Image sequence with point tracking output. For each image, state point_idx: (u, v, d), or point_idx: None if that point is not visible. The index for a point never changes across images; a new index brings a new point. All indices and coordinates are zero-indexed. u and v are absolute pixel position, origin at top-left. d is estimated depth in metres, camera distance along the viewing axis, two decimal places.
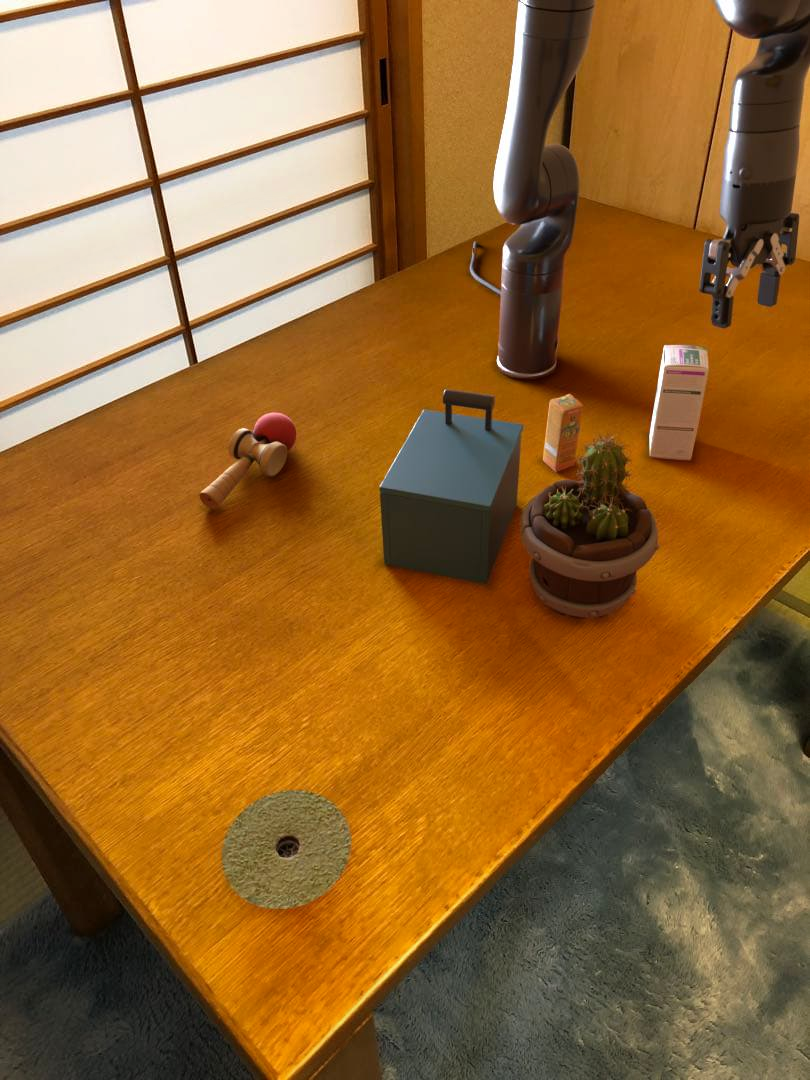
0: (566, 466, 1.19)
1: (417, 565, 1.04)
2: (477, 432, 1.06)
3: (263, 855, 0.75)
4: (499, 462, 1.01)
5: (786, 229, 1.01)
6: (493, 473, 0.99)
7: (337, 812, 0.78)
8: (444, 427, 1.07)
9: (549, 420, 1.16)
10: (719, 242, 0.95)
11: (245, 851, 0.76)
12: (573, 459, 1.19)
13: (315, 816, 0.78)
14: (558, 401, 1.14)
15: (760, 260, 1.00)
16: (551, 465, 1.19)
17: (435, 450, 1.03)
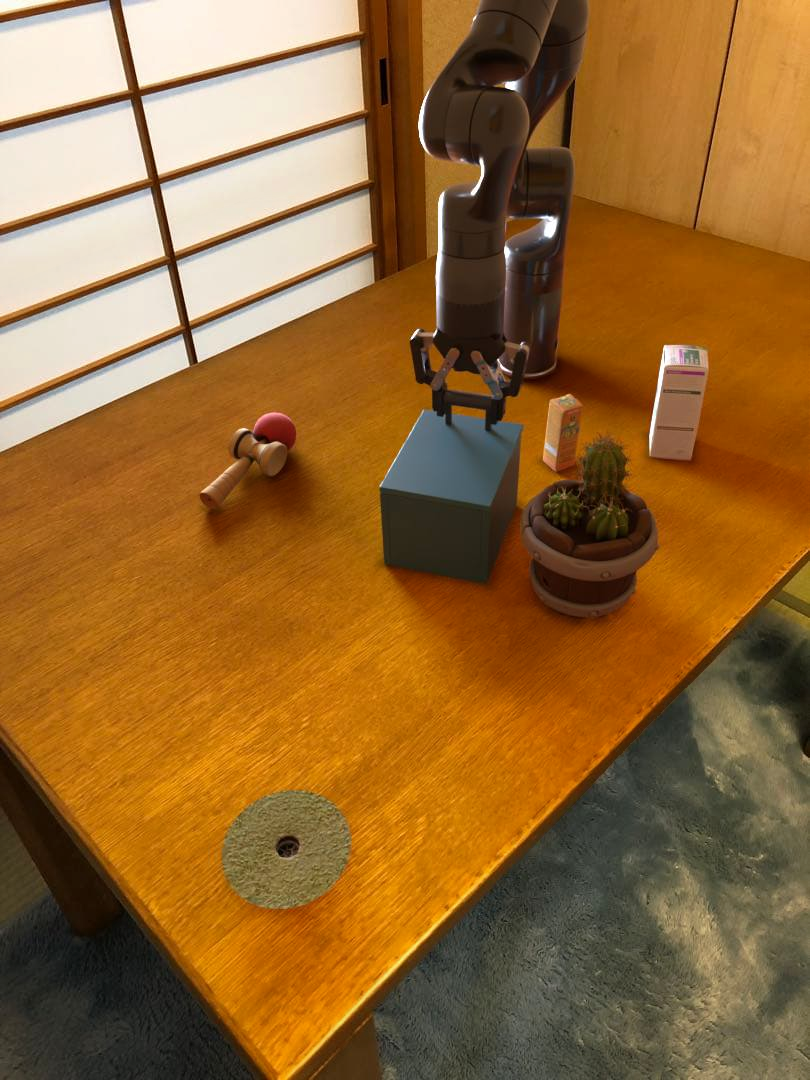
0: (566, 466, 1.19)
1: (417, 565, 1.04)
2: (477, 432, 1.06)
3: (263, 855, 0.75)
4: (499, 462, 1.01)
5: (511, 359, 0.99)
6: (493, 473, 0.99)
7: (337, 812, 0.78)
8: (444, 427, 1.07)
9: (549, 420, 1.16)
10: (413, 335, 1.01)
11: (245, 851, 0.76)
12: (573, 459, 1.19)
13: (315, 816, 0.78)
14: (558, 401, 1.14)
15: (470, 369, 1.01)
16: (551, 465, 1.19)
17: (435, 450, 1.03)
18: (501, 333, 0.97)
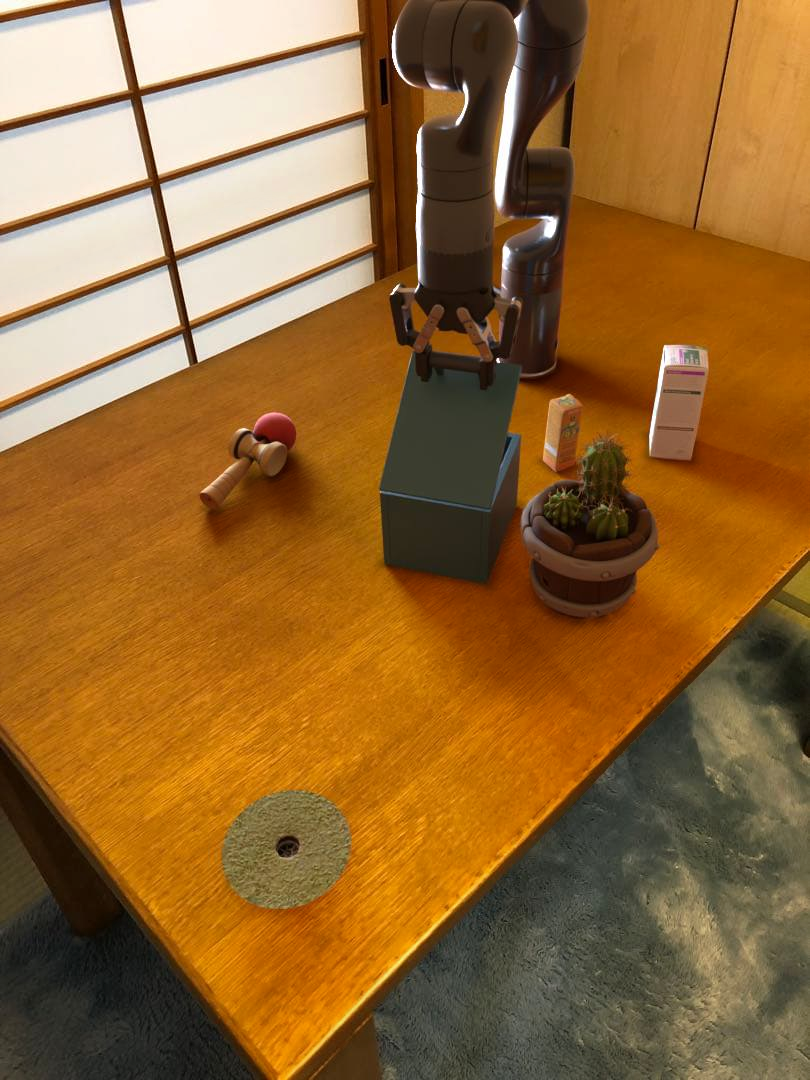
0: (566, 466, 1.19)
1: (417, 565, 1.04)
2: (472, 386, 0.98)
3: (263, 855, 0.75)
4: (497, 435, 0.97)
5: (501, 316, 0.89)
6: (491, 455, 0.96)
7: (337, 812, 0.78)
8: (436, 381, 0.99)
9: (549, 420, 1.16)
10: (393, 291, 0.91)
11: (245, 851, 0.76)
12: (573, 459, 1.19)
13: (315, 816, 0.78)
14: (558, 401, 1.14)
15: (457, 329, 0.91)
16: (551, 465, 1.19)
17: (430, 423, 0.99)
18: (490, 287, 0.88)
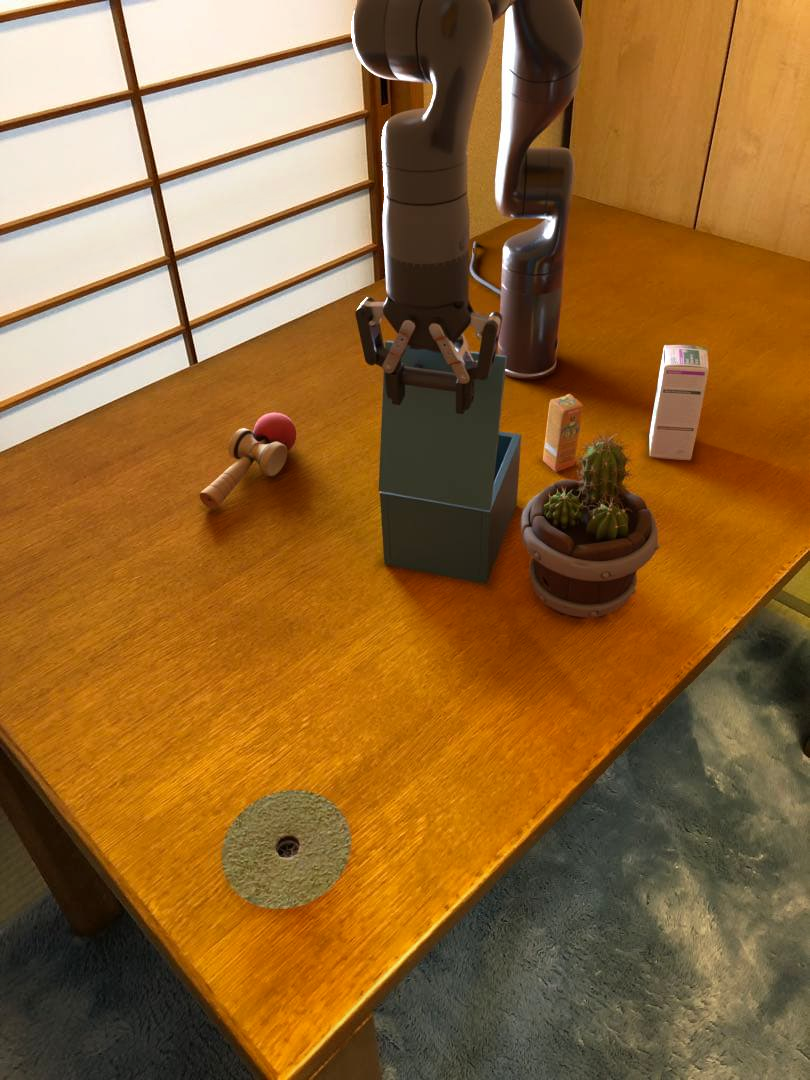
0: (566, 466, 1.19)
1: (417, 565, 1.04)
2: None
3: (263, 855, 0.75)
4: (487, 437, 0.92)
5: (478, 333, 0.80)
6: (485, 458, 0.93)
7: (337, 812, 0.78)
8: None
9: (549, 420, 1.16)
10: (360, 305, 0.83)
11: (245, 851, 0.76)
12: (573, 459, 1.19)
13: (315, 816, 0.78)
14: (558, 401, 1.14)
15: (430, 347, 0.82)
16: (551, 465, 1.19)
17: (417, 424, 0.93)
18: (465, 301, 0.79)
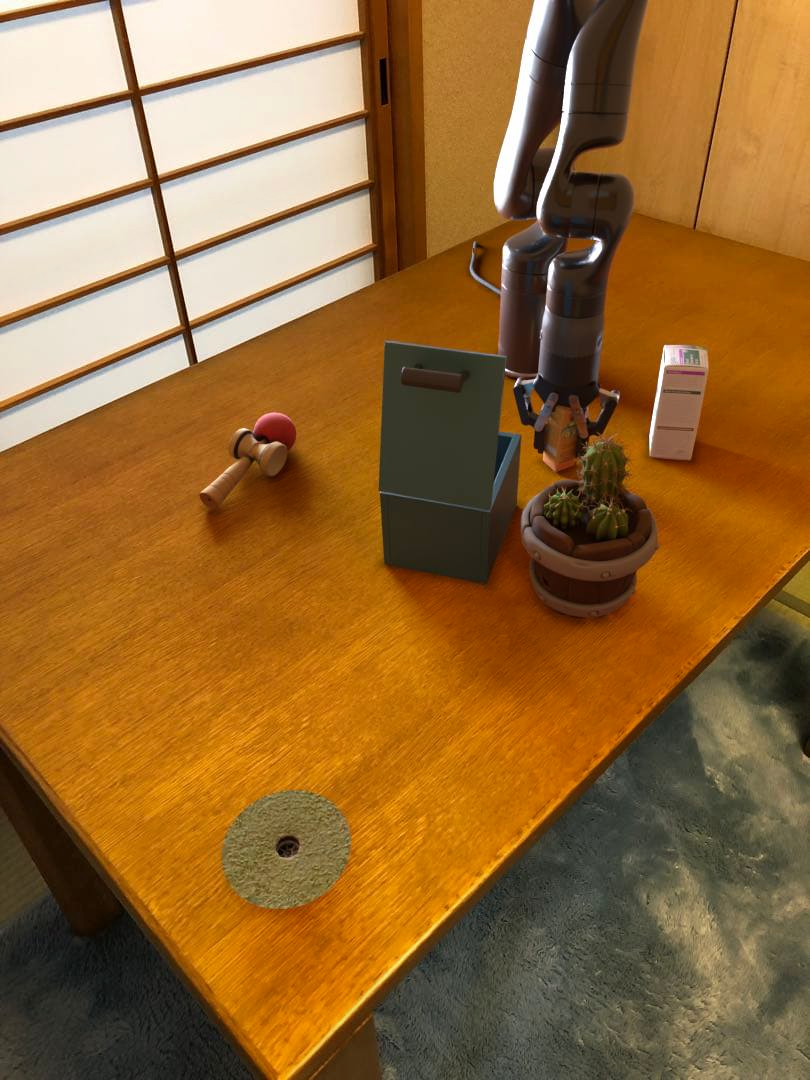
0: (566, 466, 1.19)
1: (417, 565, 1.04)
2: None
3: (263, 855, 0.75)
4: (487, 437, 0.92)
5: (602, 404, 1.12)
6: (484, 458, 0.93)
7: (337, 812, 0.78)
8: None
9: (549, 420, 1.16)
10: (515, 384, 1.14)
11: (245, 851, 0.76)
12: (573, 459, 1.19)
13: (315, 816, 0.78)
14: None
15: None
16: (551, 465, 1.19)
17: (417, 424, 0.93)
18: (596, 380, 1.10)
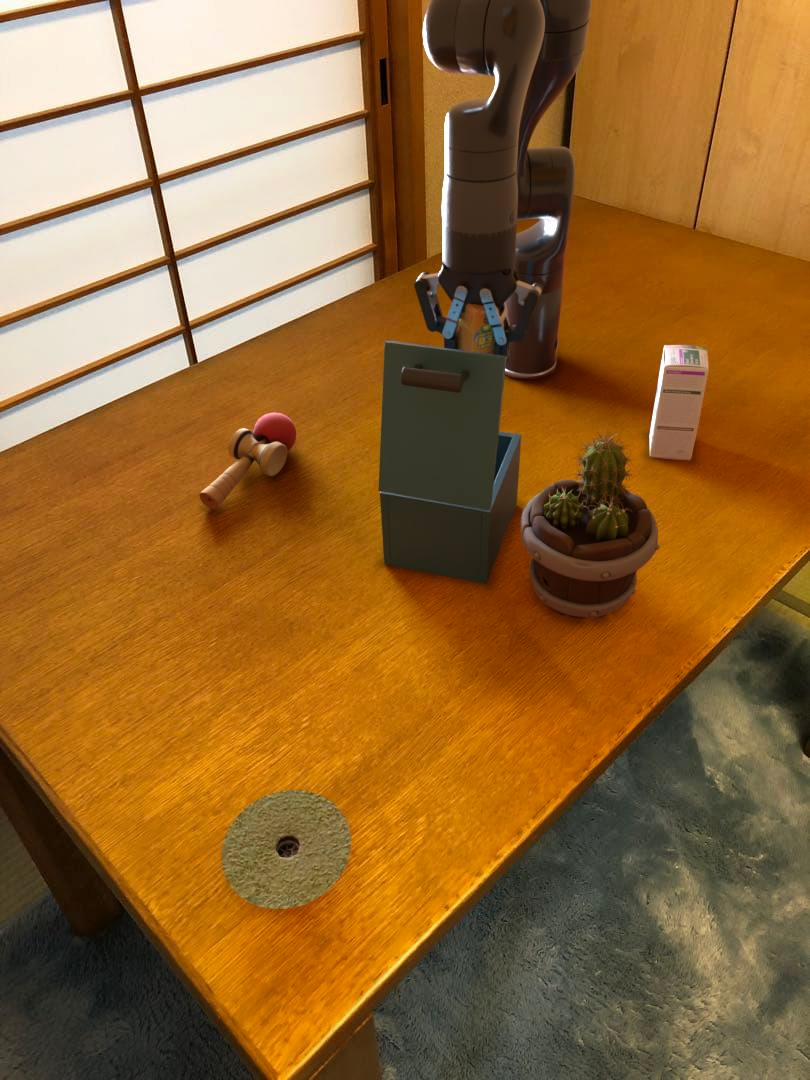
0: None
1: (417, 565, 1.04)
2: None
3: (263, 855, 0.75)
4: (487, 437, 0.92)
5: (521, 300, 0.92)
6: (484, 458, 0.93)
7: (337, 812, 0.78)
8: None
9: (460, 324, 0.96)
10: None
11: (245, 851, 0.76)
12: None
13: (315, 816, 0.78)
14: None
15: None
16: None
17: (417, 424, 0.93)
18: (512, 269, 0.90)
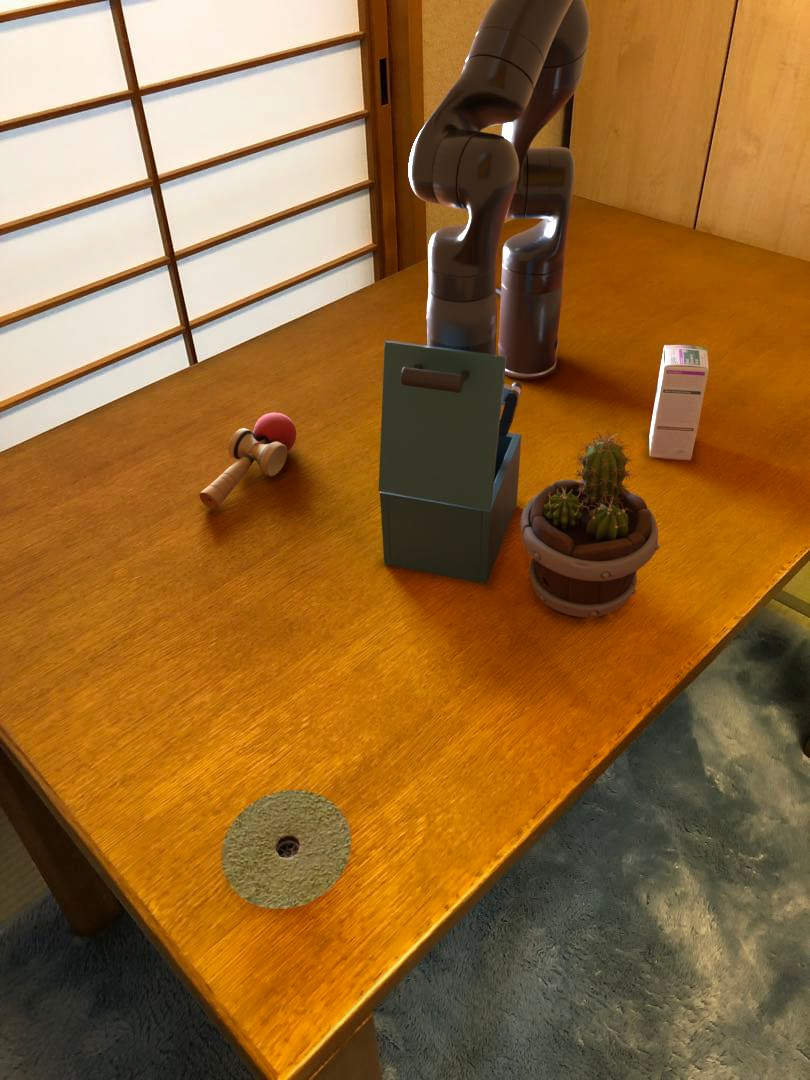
0: None
1: (417, 565, 1.04)
2: None
3: (263, 855, 0.75)
4: (487, 437, 0.92)
5: (502, 399, 0.98)
6: (484, 458, 0.93)
7: (337, 812, 0.78)
8: None
9: None
10: None
11: (245, 851, 0.76)
12: None
13: (315, 816, 0.78)
14: None
15: None
16: None
17: (417, 424, 0.93)
18: None
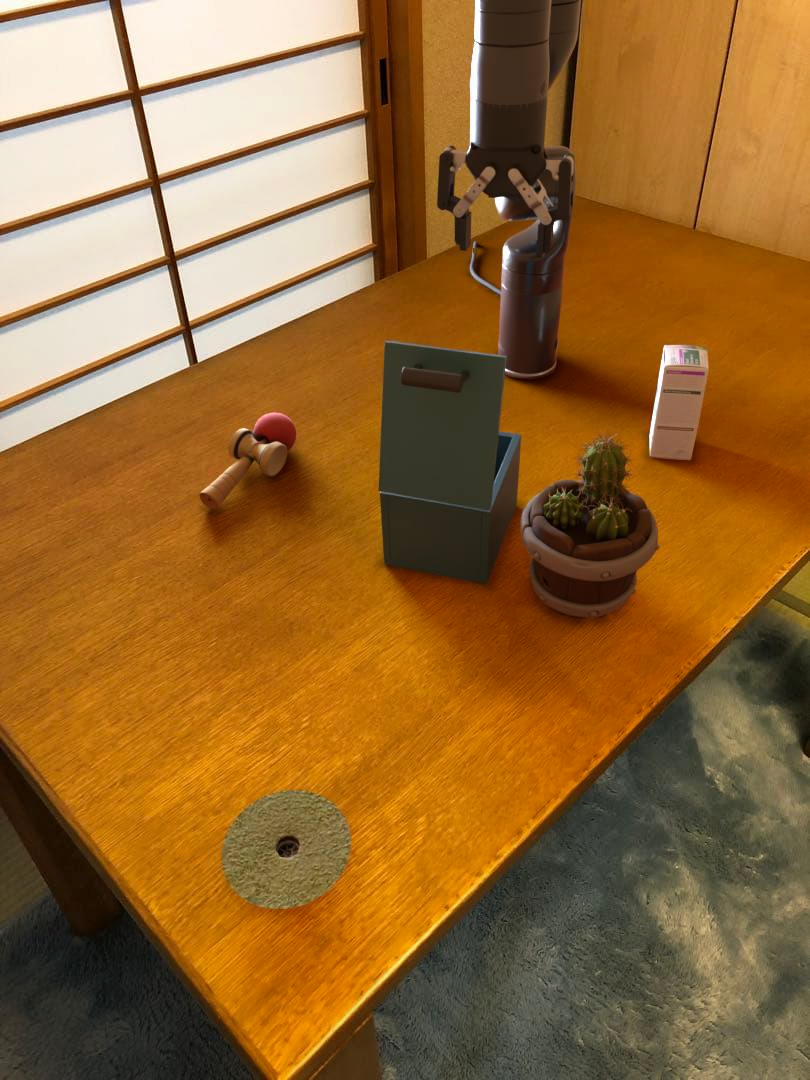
0: None
1: (417, 565, 1.04)
2: None
3: (263, 855, 0.75)
4: (487, 437, 0.92)
5: (554, 175, 0.89)
6: (484, 458, 0.93)
7: (337, 812, 0.78)
8: None
9: None
10: (444, 150, 0.91)
11: (245, 851, 0.76)
12: None
13: (315, 816, 0.78)
14: None
15: (507, 194, 0.91)
16: None
17: (417, 424, 0.93)
18: (542, 147, 0.88)
